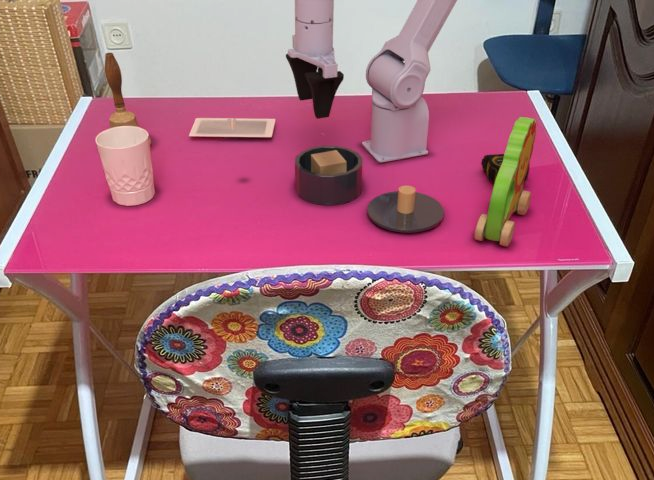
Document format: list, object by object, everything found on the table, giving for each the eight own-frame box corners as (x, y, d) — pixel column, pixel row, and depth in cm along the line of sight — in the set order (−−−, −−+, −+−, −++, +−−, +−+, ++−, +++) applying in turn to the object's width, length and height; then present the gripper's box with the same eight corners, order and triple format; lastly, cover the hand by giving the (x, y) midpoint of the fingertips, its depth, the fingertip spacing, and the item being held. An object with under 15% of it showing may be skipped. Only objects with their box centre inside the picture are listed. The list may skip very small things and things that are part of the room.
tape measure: (519, 170, 121) (523, 149, 119) (532, 189, 116) (536, 168, 114) (479, 171, 121) (482, 151, 118) (490, 191, 116) (493, 170, 113)
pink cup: (167, 188, 117) (157, 129, 111) (143, 211, 112) (131, 151, 105) (125, 180, 119) (113, 122, 113) (99, 203, 114) (84, 144, 107)
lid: (422, 191, 116) (424, 166, 113) (456, 227, 108) (460, 200, 105) (355, 204, 113) (356, 178, 110) (385, 242, 105) (387, 215, 102)
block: (336, 178, 119) (336, 149, 115) (346, 190, 116) (346, 161, 112) (311, 182, 118) (310, 154, 114) (320, 195, 114) (320, 166, 111)
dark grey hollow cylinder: (347, 169, 122) (347, 141, 119) (371, 198, 114) (372, 169, 111) (287, 179, 119) (286, 151, 116) (308, 210, 112) (308, 181, 108)
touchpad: (272, 142, 130) (271, 131, 128) (189, 141, 130) (187, 130, 129) (276, 124, 136) (275, 113, 134) (196, 123, 136) (195, 112, 135)
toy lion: (507, 253, 102) (527, 153, 92) (470, 244, 104) (485, 145, 94) (533, 202, 113) (553, 107, 103) (499, 194, 115) (515, 101, 105)
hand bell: (97, 153, 127) (76, 61, 116) (114, 133, 133) (96, 44, 123) (142, 156, 126) (125, 64, 115) (157, 136, 132) (142, 46, 122)
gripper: (273, 7, 111) (275, 94, 120) (305, 35, 101) (305, 129, 109) (316, 3, 113) (315, 89, 122) (352, 30, 102) (348, 122, 111)
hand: (313, 107), depth 116 cm, fingers open, 7 cm apart
